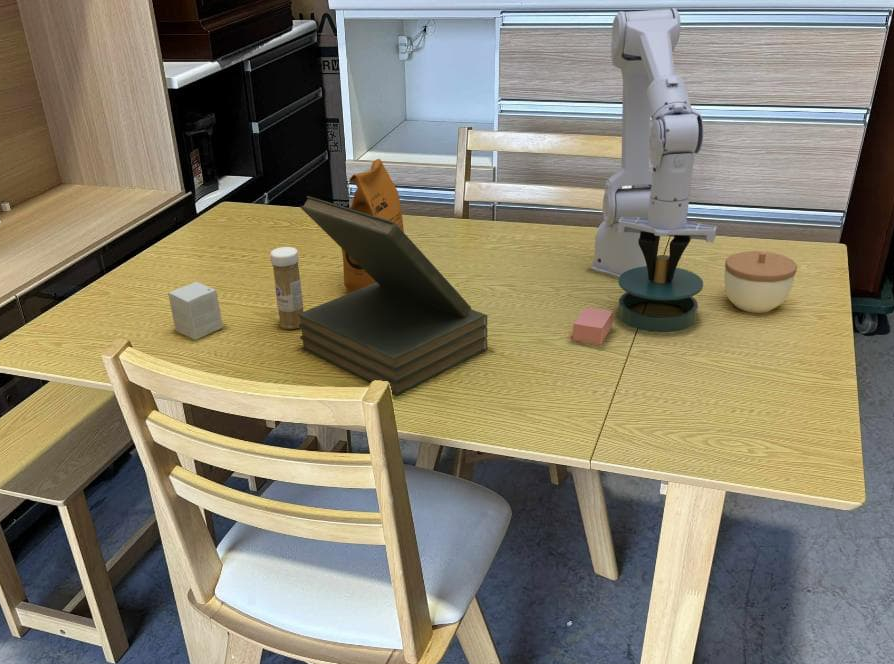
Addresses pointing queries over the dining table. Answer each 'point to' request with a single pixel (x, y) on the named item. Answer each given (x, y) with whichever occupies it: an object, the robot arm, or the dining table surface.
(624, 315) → the tin
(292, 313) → the sprinkles bottle
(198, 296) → the product box
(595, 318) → the soap
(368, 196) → the coffee package
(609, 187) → the robot arm
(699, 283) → the lid
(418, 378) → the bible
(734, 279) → the trinket box
